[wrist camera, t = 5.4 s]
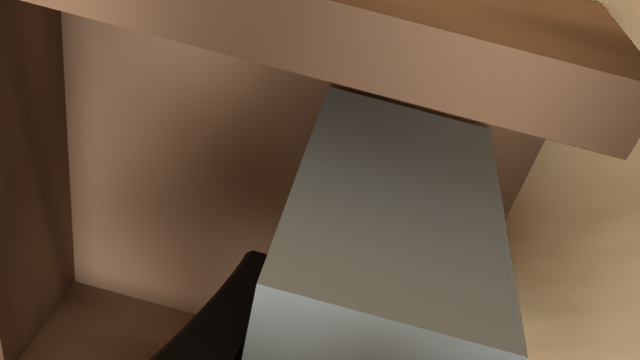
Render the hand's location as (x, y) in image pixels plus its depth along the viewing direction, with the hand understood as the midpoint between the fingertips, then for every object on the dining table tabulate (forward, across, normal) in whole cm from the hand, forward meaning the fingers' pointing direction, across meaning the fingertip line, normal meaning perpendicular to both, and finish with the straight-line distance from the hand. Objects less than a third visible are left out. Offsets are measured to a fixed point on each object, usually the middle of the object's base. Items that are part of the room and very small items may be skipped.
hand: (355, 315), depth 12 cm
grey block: (+3, 0, 0) cm, 3 cm away
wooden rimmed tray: (+4, +3, 0) cm, 5 cm away
